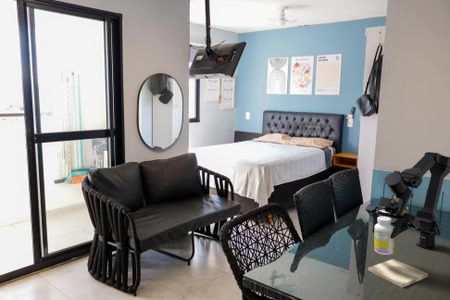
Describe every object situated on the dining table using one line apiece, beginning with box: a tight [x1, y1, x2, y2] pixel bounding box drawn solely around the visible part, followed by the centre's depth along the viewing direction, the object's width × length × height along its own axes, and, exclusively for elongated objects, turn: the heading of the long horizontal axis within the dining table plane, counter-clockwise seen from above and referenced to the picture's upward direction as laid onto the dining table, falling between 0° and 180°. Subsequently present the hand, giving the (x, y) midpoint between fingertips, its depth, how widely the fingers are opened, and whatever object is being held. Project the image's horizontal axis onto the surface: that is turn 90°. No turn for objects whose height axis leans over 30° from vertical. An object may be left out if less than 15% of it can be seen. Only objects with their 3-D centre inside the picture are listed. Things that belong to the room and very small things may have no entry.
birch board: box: [367, 258, 429, 289], centre depth 129 cm, size 14×14×1 cm
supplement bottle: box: [373, 216, 395, 256], centre depth 131 cm, size 7×7×13 cm
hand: (382, 235), depth 130 cm, fingers closed on supplement bottle, 7 cm apart
